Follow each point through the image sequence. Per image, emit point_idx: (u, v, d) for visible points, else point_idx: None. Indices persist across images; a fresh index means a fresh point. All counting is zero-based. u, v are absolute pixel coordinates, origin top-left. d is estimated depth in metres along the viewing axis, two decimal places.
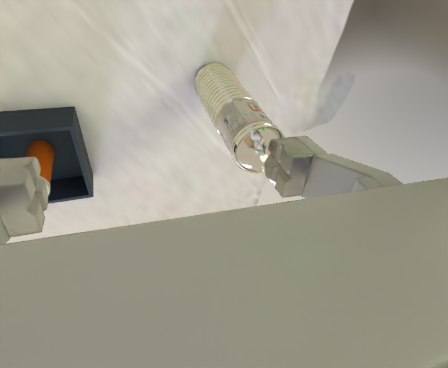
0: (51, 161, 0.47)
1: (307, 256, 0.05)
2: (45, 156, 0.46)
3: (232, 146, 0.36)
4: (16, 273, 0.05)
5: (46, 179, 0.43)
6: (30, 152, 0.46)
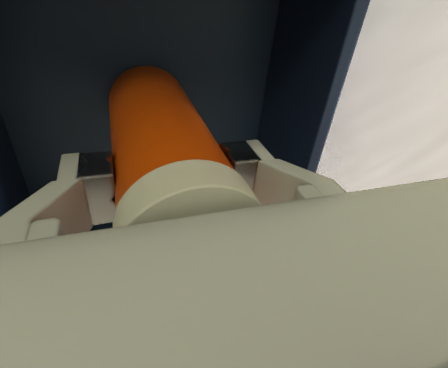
0: (149, 93, 0.11)
1: (307, 256, 0.05)
2: (121, 111, 0.11)
3: None
4: (16, 273, 0.05)
5: (154, 170, 0.07)
6: None
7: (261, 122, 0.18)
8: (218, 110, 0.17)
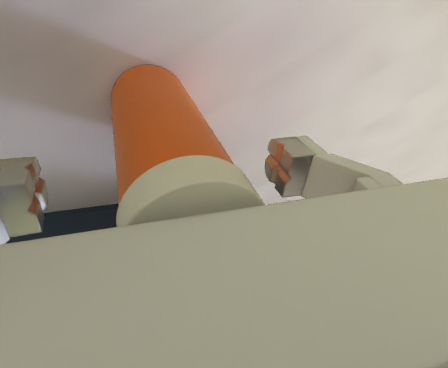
0: (151, 92, 0.11)
1: (306, 256, 0.05)
2: (124, 108, 0.11)
3: None
4: (16, 273, 0.05)
5: (156, 166, 0.07)
6: None
7: None
8: None
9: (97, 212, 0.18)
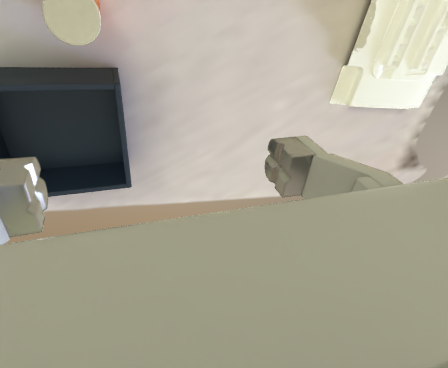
0: None
1: (307, 256, 0.05)
2: None
3: None
4: (16, 273, 0.05)
5: None
6: None
7: (119, 131, 0.39)
8: (96, 126, 0.38)
9: (55, 68, 0.33)
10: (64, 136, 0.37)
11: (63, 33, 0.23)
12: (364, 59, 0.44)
